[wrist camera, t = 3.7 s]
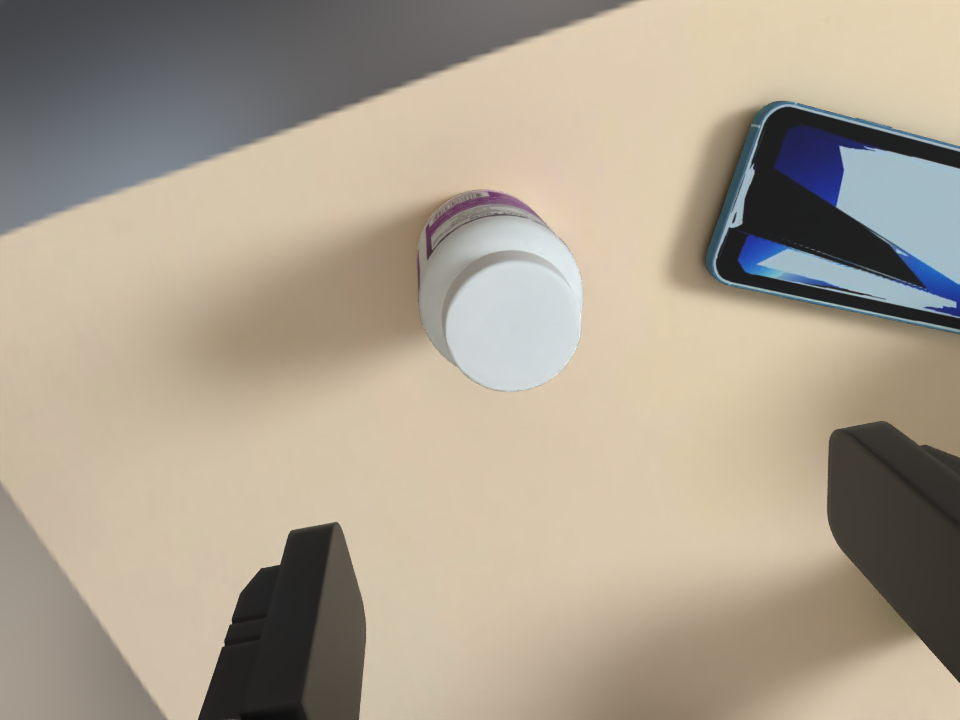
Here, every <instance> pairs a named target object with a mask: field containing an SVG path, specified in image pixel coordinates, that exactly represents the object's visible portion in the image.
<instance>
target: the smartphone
mask: <svg viewBox="0 0 960 720" xmlns="http://www.w3.org/2000/svg"><path fill="white" fill-rule="evenodd" d="M706 267H707V270H708V272H709V273H710V275H711V276H712V277H713V278H715V279H716V280H718V281H719V282H721V283H723V284H725V285H728V286H733V287H738V288H742V289H747V290H752V291H757V292H762V293H766V294H771V295H776V296H781V297H784V298H789V299H794V300H798V301H804V302H809V303H813V304H817V305H822V306H827V307H833V308H838V309H842V310H847V311H852V312H857V313H861V314H866V315H871V316H876V317H881V318H885V319H890V320H895V321H900V322H904V323H909V324H914V325H919V326H923V327H928V328H933V329H938V330H942V331H947V332H952V333H957V334H960V146H956V145H952V144H948V143H945V142H941V141H937V140H933V139H930V138H926V137H922V136H918V135H915V134H911V133H907V132H903V131H900V130H896V129H892V127H889V126H885V125H881V124H878V123H874V122H870V121H866V120H863V119H859V118H856V119H855V118H851V117H847V116H844V115H840V114H836V113H832V112H829V111H825V110H821V109H817V108H814V107H810V106H806V105H802V104H799V103H795V102H787V101H776V102H772V103H770V104H768V105H766V106H765V107H763V108H762V109H761V110H760V111H759V112H758V113H757V115H756V116H755V118H754V119H753V122H752V124H751V127H750V130H749V133H748V136H747V138H746V141H745V144H744V147H743V150H742V153H741V156H740V158H739V161H738V164H737V167H736V170H735V173H734V176H733V179H732V181H731V184H730V187H729V190H728V193H727V196H726V199H725V202H724V204H723V207H722V210H721V213H720V216H719V219H718V222H717V225H716V227H715V230H714V233H713V236H712V239H711V242H710V245H709V248H708V250H707V254H706Z"/></svg>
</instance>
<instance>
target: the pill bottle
mask: <svg viewBox="0 0 960 720" xmlns="http://www.w3.org/2000/svg"><path fill="white" fill-rule="evenodd" d="M417 270H418V292H419V293H418V301H419V312H420V317H421V321H422V324H423V326H424V329H425V331H426V334H427V336H428V337H429V339H430V341H431V342H432V344H433V345H434V347H435V348H436V349H437V350H438V351H439V352H440V354H441V355H442V356H443V357H445V358H446V359H447V360H448V361H449V362H451V363H452V364H453V365H455V366H457V367H458V368H459V369H460V371H461V372H462V373H463V374H464V375H466V376H467V377H468V378H469V379H471V380H472V381H474V382H475V383H477V384H479V385H481V386H483V387H486V388H489V389H492V390H496V391H502V392H518V391H523V390H528V389H531V388H534V387H537V386H540V385H542V384H544V383H546V382H547V381H549V380H550V379H552V378H553V377H554V376H556V375H557V374H558V373H559V372H560V371H561V370H562V369H563V368H564V367H565V366H566V364H567V363H568V362H569V360H570V359H571V357H572V355H573V354H574V352H575V350H576V348H577V345H578V342H579V338H580V334H581V312H582V306H583V285H582V279H581V275H580V272H579V268H578V266H577V263H576V261H575V259H574V257H573V254H572V253H571V251H570V250H569V248H568V247H567V246H566V244H565V243H564V242H563V241H562V240H561V239H560V238H559V237H558V236H557V235H556V234H555V233H554V232H553V231H552V230H551V229H550V228H549V227H548V226H547V224H546V223H545V222H544V221H543V220H542V219H541V218H540V217H539V216H538V215H537V214H536V213H535V212H534V211H533V210H532V209H531V208H530V207H529V206H528V205H526V204H525V203H524V202H522V201H521V200H519V199H518V198H516V197H514V196H512V195H510V194H507V193H504V192H501V191H496V190H473V191H468V192H464V193H461V194H459V195H457V196H455V197H453V198H451V199H449V200H448V201H446V202H445V203H444V204H443V205H441V206H440V207H439V208H438V209H437V210H436V211H435V212H434V213H433V214H432V215H431V217H430V218H429V220H428V221H427V222H426V224H425V226H424V228H423V230H422V233H421V236H420V239H419V243H418V249H417Z"/></svg>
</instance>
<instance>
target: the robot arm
mask: <svg viewBox="0 0 960 720" xmlns="http://www.w3.org/2000/svg"><path fill="white" fill-rule="evenodd" d="M827 514H828V521H829V525H830V528H831V531H832V534H833V536H834V538H835V540H836V542H837V544H838V545H839V547H840V548H841V550H842V551H843V552H844V553H845V554H846V555H847V557H848V558H849V559H850V560H851V561H852V562H853V563H854V564H855V566H856V567H857V568H858V569H859V570H860V571H861V572H862V573H863V575H864V576H865V577H866V578H867V579H868V580H869V581H870V582H871V584H872V585H873V586H874V587H875V588H876V589H877V590H878V591H879V593H880V594H881V595H882V596H883V597H884V598H885V599H886V600H887V602H888V603H889V604H890V605H891V606H892V607H893V608H894V609H895V611H896V612H897V613H898V614H899V615H900V616H901V617H902V618H903V620H904V621H905V622H906V623H907V624H908V625H909V626H910V627H911V629H912V630H913V631H914V632H915V633H916V634H917V635H918V636H919V638H920V639H921V640H922V641H923V642H924V643H925V644H926V645H927V647H928V648H929V649H930V650H931V651H932V652H933V653H934V655H935V656H936V657H937V658H938V659H939V660H940V661H941V662H942V664H943V665H944V666H945V667H946V668H947V669H948V670H949V671H950V673H951V674H952V675H953V676H954V677H955V678H956V679H957V680H958V682H959V683H960V458H958V457H956V456H953V455H951V454H948V453H946V452H943V451H941V450H938V449H935V448H933V447H930V446H928V445H922V446H919V445H918V444H916V443H915V442H914V441H912V440H911V439H910V438H908V437H907V436H906V435H904V434H903V433H902V432H900V431H899V430H898V429H896V428H895V427H894V426H892V425H891V424H889V423H888V422H885V421H879V422H874V423H868V424H863V425H858V426H852V427H847V428H842V429H837V430H835V431H833V432H832V434H831V436H830V440H829V456H828V495H827ZM224 642H225V647H222V650H221V653H220V656H219V658H218V661H217V664H216V667H215V670H214V673H213V676H212V679H211V682H210V685H209V688H208V691H207V694H206V697H205V700H204V703H203V706H202V709H201V712H200V715H199V718H198V720H359V712H360V701H361V689H362V678H363V667H364V655H365V644H366V621H365V612H364V606H363V601H362V597H361V593H360V590H359V586H358V583H357V579H356V576H355V572H354V569H353V565H352V562H351V558H350V555H349V551H348V548H347V544H346V541H345V538H344V534H343V531H342V529H341V526H340V525H339V523H338V522H334V523H328V524H323V525H318V526H312V527H307V528H302V529H296V530H292V531H290V533H289V535H288V538H287V542H286V546H285V549H284V553H283V557H282V560H281V564H280V565H277V566H272V567H266V568H261V569H260V570H259V572H258V573H257V574H256V575H255V576H254V578H253V579H252V580H251V581H250V582H249V584H248V585H247V586H246V587H245V588H244V590H243V591H242V592H241V593H240V596H239V599H238V602H237V605H236V608H235V611H234V614H233V617H232V625H230V626H229V629H228V632H227V635H226V638H225V641H224Z"/></svg>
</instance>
